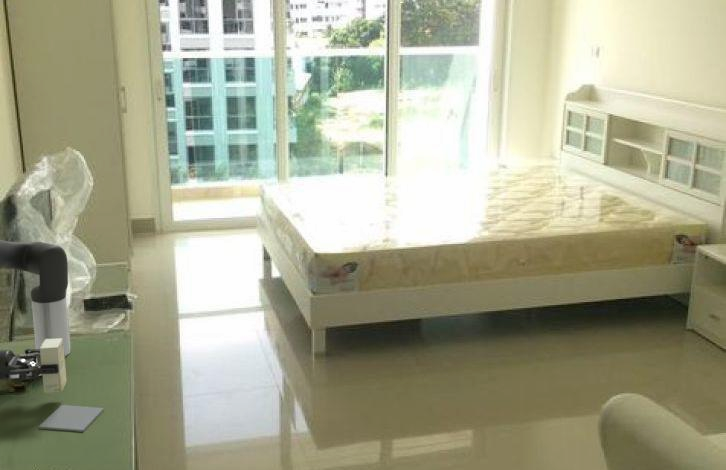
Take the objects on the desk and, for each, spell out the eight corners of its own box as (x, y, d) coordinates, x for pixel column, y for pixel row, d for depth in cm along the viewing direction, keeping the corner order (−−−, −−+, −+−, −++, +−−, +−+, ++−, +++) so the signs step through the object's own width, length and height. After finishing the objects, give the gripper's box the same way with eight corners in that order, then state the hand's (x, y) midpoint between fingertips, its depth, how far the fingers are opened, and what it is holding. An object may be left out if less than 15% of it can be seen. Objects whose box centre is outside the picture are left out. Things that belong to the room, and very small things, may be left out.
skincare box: (61, 392, 187) (58, 347, 184) (43, 393, 187) (38, 348, 183) (67, 380, 193) (63, 337, 190) (49, 381, 193) (45, 338, 189)
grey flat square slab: (62, 406, 188) (61, 404, 188) (104, 409, 187) (103, 408, 187) (38, 428, 177) (38, 426, 177) (83, 431, 176) (83, 429, 176)
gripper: (-21, 364, 178) (53, 361, 181) (-2, 340, 192) (67, 337, 194) (-18, 392, 180) (56, 389, 183) (1, 367, 194) (69, 364, 196)
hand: (61, 363), depth 189 cm, fingers closed on skincare box, 6 cm apart
